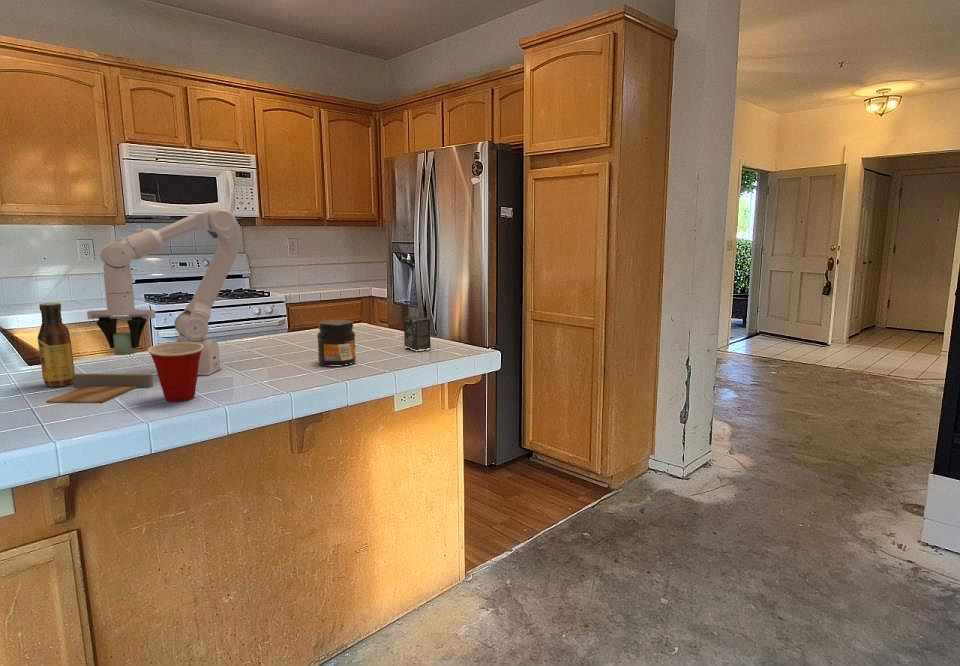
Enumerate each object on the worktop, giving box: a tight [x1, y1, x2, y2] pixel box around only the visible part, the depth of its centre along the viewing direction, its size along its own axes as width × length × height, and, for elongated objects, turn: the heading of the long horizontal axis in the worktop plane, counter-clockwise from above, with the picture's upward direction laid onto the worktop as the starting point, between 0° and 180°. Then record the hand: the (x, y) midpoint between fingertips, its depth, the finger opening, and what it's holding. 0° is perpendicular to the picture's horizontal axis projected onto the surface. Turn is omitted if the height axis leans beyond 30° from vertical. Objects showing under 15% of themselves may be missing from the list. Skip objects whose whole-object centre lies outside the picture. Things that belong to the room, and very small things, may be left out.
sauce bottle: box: [37, 302, 76, 388], centre depth 134 cm, size 7×6×20 cm
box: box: [403, 315, 431, 350], centre depth 182 cm, size 8×6×11 cm
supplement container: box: [316, 319, 357, 366], centre depth 161 cm, size 10×10×12 cm
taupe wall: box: [73, 373, 154, 388], centre depth 134 cm, size 18×1×3 cm, turn 91°
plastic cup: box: [147, 341, 204, 403], centre depth 124 cm, size 11×11×12 cm
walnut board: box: [45, 386, 136, 404], centre depth 127 cm, size 12×12×1 cm
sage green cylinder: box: [113, 331, 137, 356], centre depth 139 cm, size 4×4×5 cm
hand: (124, 347), depth 139 cm, fingers closed on sage green cylinder, 4 cm apart
